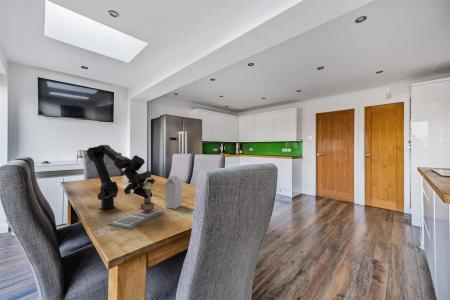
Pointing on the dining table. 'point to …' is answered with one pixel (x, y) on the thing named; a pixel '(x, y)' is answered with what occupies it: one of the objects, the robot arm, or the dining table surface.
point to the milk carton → (173, 193)
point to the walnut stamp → (147, 202)
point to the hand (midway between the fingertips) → (149, 197)
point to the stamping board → (135, 218)
